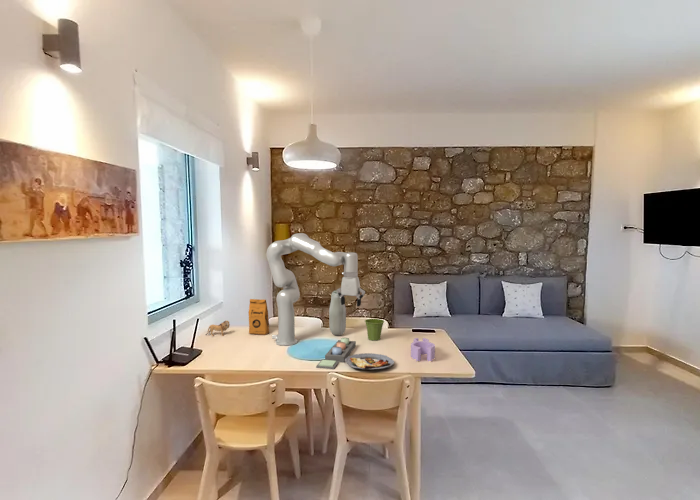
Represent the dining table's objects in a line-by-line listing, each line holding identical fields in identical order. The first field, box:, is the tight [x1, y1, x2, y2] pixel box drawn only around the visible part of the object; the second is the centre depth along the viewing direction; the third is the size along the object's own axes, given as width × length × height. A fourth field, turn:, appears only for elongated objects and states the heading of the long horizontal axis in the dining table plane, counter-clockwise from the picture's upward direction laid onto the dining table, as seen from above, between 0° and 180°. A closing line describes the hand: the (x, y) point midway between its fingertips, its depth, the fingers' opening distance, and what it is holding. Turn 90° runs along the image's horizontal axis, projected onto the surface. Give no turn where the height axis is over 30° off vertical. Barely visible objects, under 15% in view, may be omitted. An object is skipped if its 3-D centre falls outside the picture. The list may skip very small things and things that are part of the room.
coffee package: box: [248, 298, 270, 336], centre depth 274 cm, size 10×12×22 cm
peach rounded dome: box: [337, 342, 346, 350], centre depth 235 cm, size 5×5×4 cm
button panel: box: [324, 339, 357, 363], centre depth 235 cm, size 10×28×3 cm, turn 167°
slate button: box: [331, 346, 342, 355], centre depth 227 cm, size 5×5×4 cm
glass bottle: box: [328, 289, 347, 336], centre depth 271 cm, size 10×10×28 cm
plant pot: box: [364, 318, 385, 341], centre depth 262 cm, size 12×12×11 cm
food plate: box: [344, 352, 395, 371], centre depth 218 cm, size 25×23×4 cm
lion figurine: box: [205, 320, 231, 337], centre depth 271 cm, size 15×5×9 cm, turn 103°
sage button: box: [340, 337, 350, 345], centre depth 244 cm, size 5×5×4 cm
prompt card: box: [315, 359, 340, 370], centre depth 217 cm, size 9×9×1 cm
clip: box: [410, 337, 436, 362], centre depth 232 cm, size 20×12×7 cm, turn 177°
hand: (350, 305), depth 243 cm, fingers open, 9 cm apart
